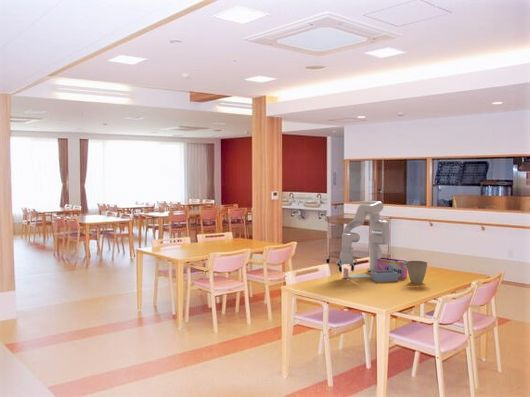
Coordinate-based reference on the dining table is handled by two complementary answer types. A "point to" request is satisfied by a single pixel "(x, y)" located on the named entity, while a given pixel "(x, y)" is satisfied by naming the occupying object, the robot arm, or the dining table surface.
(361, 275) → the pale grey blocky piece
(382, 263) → the gum box
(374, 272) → the tub
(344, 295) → the dining table surface
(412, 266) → the plant pot
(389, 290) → the dining table surface
